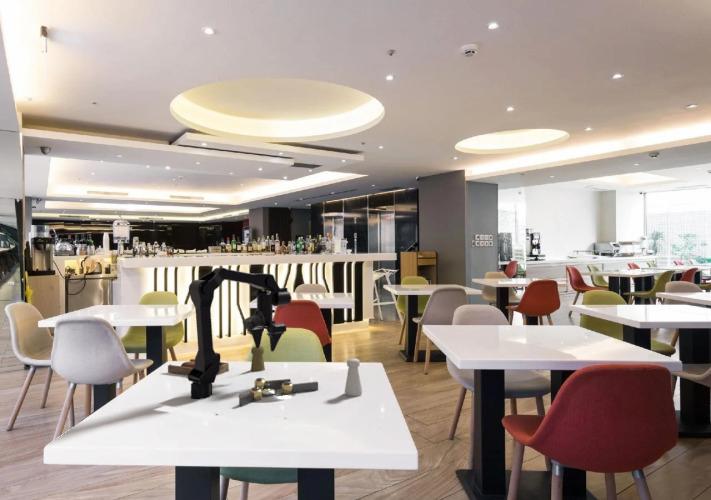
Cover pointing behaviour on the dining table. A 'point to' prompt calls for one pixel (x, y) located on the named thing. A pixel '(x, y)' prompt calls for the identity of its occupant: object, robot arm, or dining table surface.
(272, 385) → the knob left
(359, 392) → the salt shaker
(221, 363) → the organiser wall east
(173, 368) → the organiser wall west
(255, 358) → the cork
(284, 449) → the dining table surface
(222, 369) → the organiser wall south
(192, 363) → the sunglasses case
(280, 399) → the levelling base
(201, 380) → the robot arm
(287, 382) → the knob right
